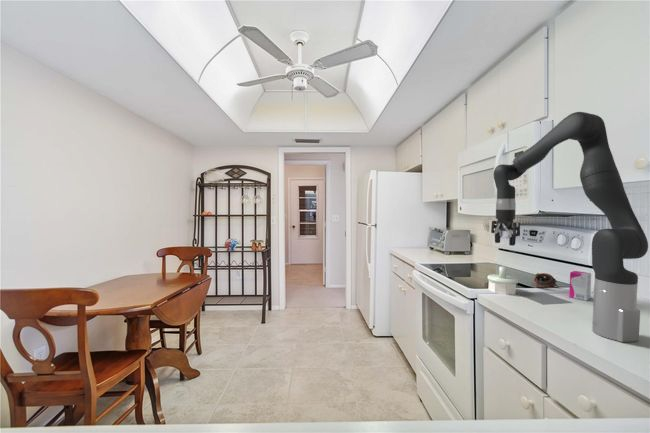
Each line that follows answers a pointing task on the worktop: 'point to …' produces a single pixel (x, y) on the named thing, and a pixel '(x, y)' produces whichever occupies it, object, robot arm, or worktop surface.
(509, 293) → the bowl
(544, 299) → the mat
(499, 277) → the lid
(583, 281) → the supplement box
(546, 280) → the pottery mug
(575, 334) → the worktop surface
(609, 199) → the robot arm
